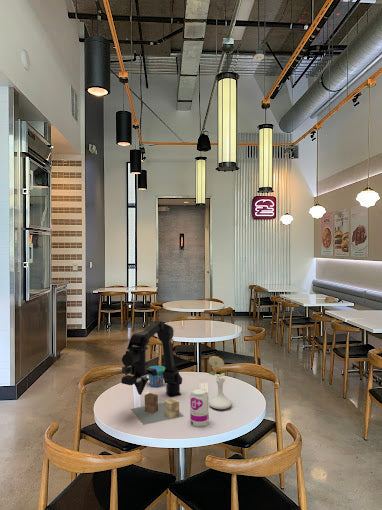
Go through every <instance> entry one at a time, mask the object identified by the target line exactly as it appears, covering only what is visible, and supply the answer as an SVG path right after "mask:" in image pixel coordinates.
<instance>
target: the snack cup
mask: <svg viewBox="0 0 382 510" xmlns="http://www.w3.org/2000/svg"><path fill="white" fill-rule="evenodd" d="M148 368H153V369H156V371H157V375H156V376H152V374H149V375H148V378H149V380H148V381H149V386H150V387H153V388H159V387H162V386H164V385H163V384H164V379H163V372H164V370H165V368H166V366H163V365H152V366H149V367H148Z"/></svg>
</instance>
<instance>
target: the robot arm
mask: <svg viewBox="0 0 382 510" xmlns="http://www.w3.org/2000/svg"><path fill="white" fill-rule="evenodd" d="M174 334H175V333H174V328H173V327H172V326H171V325H169V324H168V323H167V324H166V323H165V322H164V321H162V320H155V321H153V322H152V323H151V324H150V325H149V326H147V327H145V328H144V329H143V330H142V331H137V332H135V333H133V334H132V335H131V337H130V340H129V342H128V345H127V348H126V350H125V354H123V355H122V358H121V363H122V364H123V366H122V367H121V373H122V374H123V375H125V376H123V377H121V378H120V379H121V384H122V385H127V386H133V385H134V386H135V389H136V391H137V394H138V395H140V396H141V395H142V394H143V392H144V390H145V387H146V385H147V383H149V382H148V381H149V377H148V376H149V374H152V376H156V375H157V371H156V369H153V368H149V367H147V366H148V364H149V363H148V362H147V359H146V357H147V354H146V352H147V350H148V349H149V348H148V346H147V345H148V344H149V343H150V339H151V338H153V336H155V335H157V338H158V340H159V341H160V343H161V345H162V353H163V358H164V367H165V370H164V372H163V379H164V380H163V383H164V384H166V387H165V391H166V392H165V394H166V395H167V396H169V397H170V398H173V397H179V396H182V394H181V389H180V388H181V385H182V383H183V377H182V376H181V374H180V371H179V369H178V367H177V366H176V364H175V359H174V353H173V352H174V351H173V345H172V340H173V338H174ZM129 374H130V375H129Z"/></svg>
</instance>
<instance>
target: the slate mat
mask: <svg viewBox="0 0 382 510" xmlns="http://www.w3.org/2000/svg"><path fill="white" fill-rule="evenodd" d="M130 410H131V411H132V412H133V414H134V415H135V416H136V417H137V419H138V420H139V422H140V423H141V424H142V425H143V426H144V425H149V424H154V423H159V422H163V421H169V420H170V419H169V418H168V417H166V416H165V403H164V402H160V403H159V402H158V412H156V413H154V414H150V413H147V412H145V405H143V406H139V407H133V408H130ZM182 417H185V416H184V414H183V413H181V411H179V417H175V418H172V419H171V420H173V419H178V418H182Z"/></svg>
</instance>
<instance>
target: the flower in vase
mask: <svg viewBox="0 0 382 510" xmlns="http://www.w3.org/2000/svg"><path fill="white" fill-rule="evenodd" d="M208 358H209V359H208V363H209V364H210V366H212V367H214V371H210V372H208V374H209V375H212V376H216V377H217V378H214V380H215V381H216V384H217V394H216V395H215V396H214V397H212V398H211V399H210V401H208V406H210V407H211V408H213V409H216V410H227V409H229V408H231V407H232V405H233V402H232V401H231V400H230V399H229V398H228V397H227V396H226V395H225V394H224V392H223V388H224V387H223V386H224V382H225V381H226V378H224V377H223V376H224V375H225V374H226V373H225V372H223V373H220V374H219V375H218V374H217V372H216V371H217V370H216V368H218V369H221V368H223V367H224V365H225V362H224V359H222V357H221V358H220V356H216V355H215V356H214V355H213V356H210V357H208Z"/></svg>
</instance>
